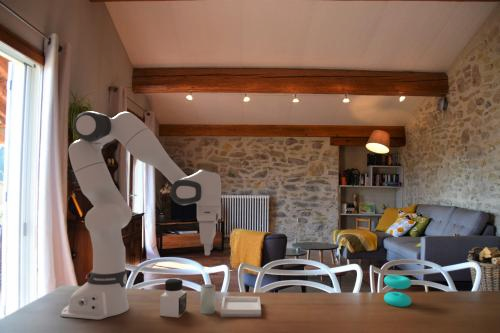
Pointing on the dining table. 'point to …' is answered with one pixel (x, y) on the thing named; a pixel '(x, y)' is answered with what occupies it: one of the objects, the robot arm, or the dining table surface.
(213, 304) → the sage cup
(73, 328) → the dining table surface
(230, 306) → the grey tray
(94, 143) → the robot arm
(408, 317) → the dining table surface
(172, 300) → the medicine bottle
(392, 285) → the donuts
